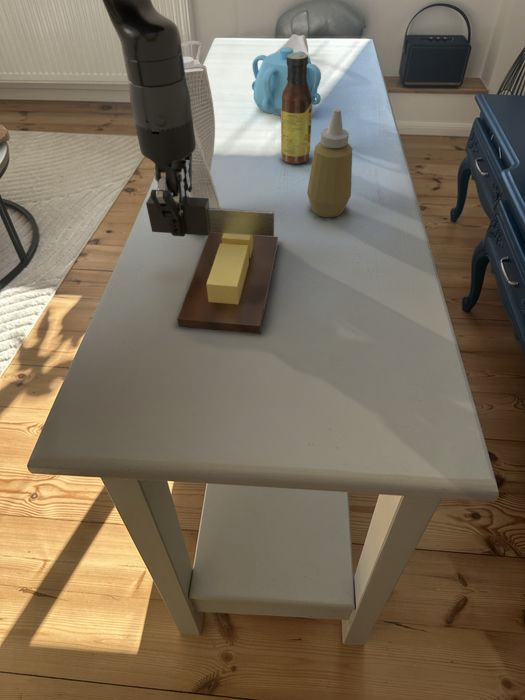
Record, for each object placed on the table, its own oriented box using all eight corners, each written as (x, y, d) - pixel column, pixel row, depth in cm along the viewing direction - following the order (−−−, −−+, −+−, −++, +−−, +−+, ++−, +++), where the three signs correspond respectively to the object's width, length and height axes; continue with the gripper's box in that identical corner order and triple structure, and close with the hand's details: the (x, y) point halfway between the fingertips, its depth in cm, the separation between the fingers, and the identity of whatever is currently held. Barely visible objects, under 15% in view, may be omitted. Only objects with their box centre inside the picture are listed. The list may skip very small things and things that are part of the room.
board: (178, 326, 70) (176, 318, 69) (210, 239, 85) (209, 231, 84) (260, 333, 69) (259, 326, 68) (277, 243, 84) (278, 236, 82)
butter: (208, 302, 71) (206, 283, 69) (221, 261, 78) (220, 243, 75) (238, 304, 71) (237, 286, 68) (249, 263, 77) (248, 245, 75)
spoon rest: (305, 83, 136) (307, 54, 130) (264, 80, 138) (264, 52, 132) (318, 56, 151) (320, 30, 146) (281, 54, 153) (282, 28, 148)
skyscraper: (195, 203, 93) (174, 35, 72) (231, 213, 90) (220, 42, 70) (169, 225, 88) (139, 51, 67) (207, 236, 85) (187, 59, 65)
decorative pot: (322, 120, 119) (327, 58, 109) (257, 123, 117) (256, 61, 107) (310, 95, 130) (314, 37, 120) (251, 98, 128) (249, 40, 118)
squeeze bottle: (343, 224, 87) (357, 123, 74) (300, 217, 89) (306, 116, 76) (353, 202, 92) (366, 103, 79) (312, 195, 94) (319, 98, 81)
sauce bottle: (313, 163, 103) (320, 59, 89) (285, 167, 102) (288, 63, 88) (303, 150, 108) (308, 49, 93) (276, 154, 107) (277, 52, 92)
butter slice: (223, 256, 79) (221, 238, 76) (226, 245, 81) (225, 227, 78) (250, 258, 78) (249, 240, 76) (253, 247, 80) (252, 229, 78)
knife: (151, 232, 75) (145, 203, 71) (156, 223, 77) (150, 194, 73) (273, 240, 73) (273, 210, 69) (275, 231, 75) (275, 202, 71)
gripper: (150, 93, 68) (170, 204, 80) (117, 136, 58) (145, 254, 71) (203, 95, 67) (214, 207, 80) (177, 139, 57) (194, 258, 70)
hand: (181, 229), depth 75 cm, fingers closed on knife, 2 cm apart
